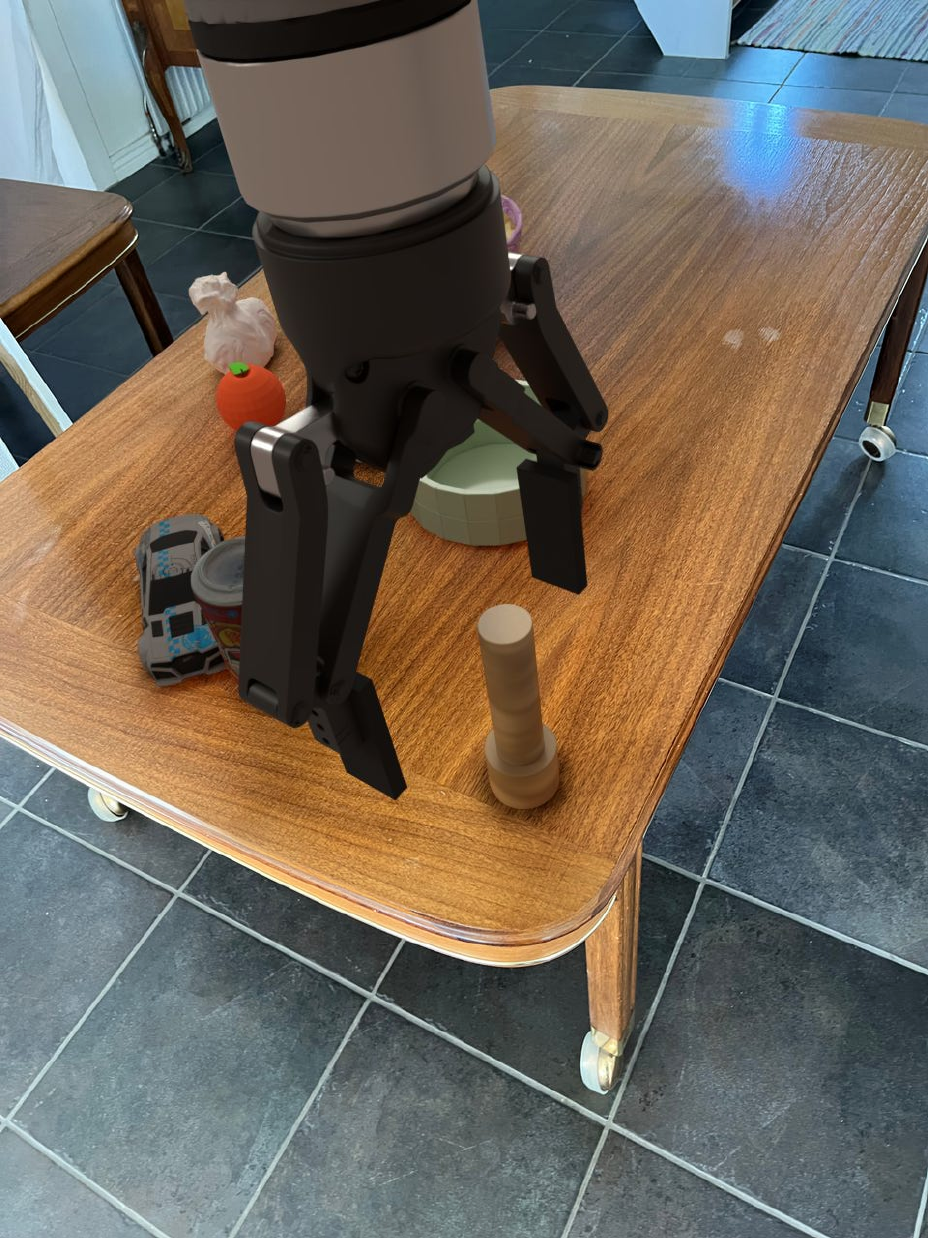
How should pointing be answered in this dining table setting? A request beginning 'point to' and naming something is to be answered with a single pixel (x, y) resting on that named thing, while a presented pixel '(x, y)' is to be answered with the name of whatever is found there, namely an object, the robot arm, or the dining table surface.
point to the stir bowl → (477, 490)
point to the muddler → (516, 711)
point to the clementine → (250, 396)
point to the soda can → (222, 596)
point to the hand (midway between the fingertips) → (475, 673)
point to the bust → (233, 324)
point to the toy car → (175, 600)
